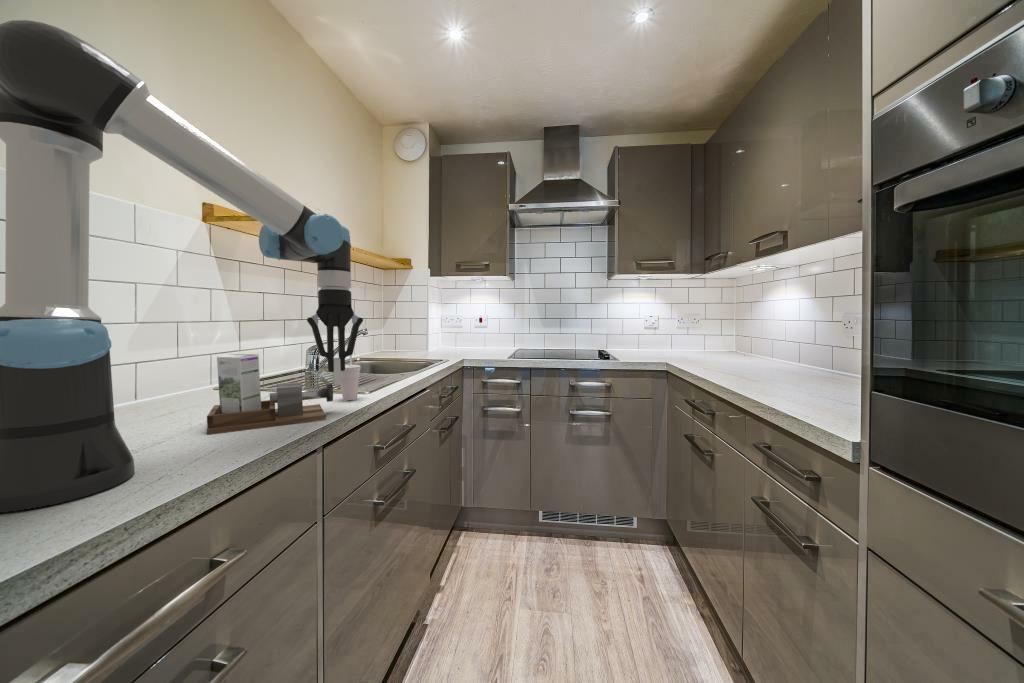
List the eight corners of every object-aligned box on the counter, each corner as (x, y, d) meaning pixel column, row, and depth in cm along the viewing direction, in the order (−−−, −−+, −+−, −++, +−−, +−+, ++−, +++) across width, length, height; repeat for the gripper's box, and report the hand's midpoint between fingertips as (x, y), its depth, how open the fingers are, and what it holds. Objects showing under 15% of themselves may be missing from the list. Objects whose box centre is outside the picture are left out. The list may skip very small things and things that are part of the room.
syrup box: (263, 415, 92) (260, 353, 91) (242, 422, 86) (238, 355, 85) (241, 415, 92) (238, 353, 92) (218, 421, 87) (215, 355, 86)
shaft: (333, 402, 97) (332, 384, 97) (270, 409, 90) (269, 390, 90) (331, 399, 101) (330, 382, 100) (270, 405, 94) (269, 387, 94)
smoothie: (357, 401, 111) (355, 352, 110) (334, 402, 111) (332, 352, 110) (365, 397, 117) (363, 350, 117) (343, 397, 117) (341, 350, 117)
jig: (325, 419, 92) (324, 386, 91) (207, 434, 81) (205, 397, 80) (319, 407, 104) (318, 378, 103) (215, 419, 92) (213, 386, 92)
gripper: (359, 291, 104) (361, 380, 106) (304, 289, 98) (306, 384, 99) (365, 289, 98) (367, 384, 99) (306, 287, 91) (308, 388, 93)
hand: (336, 384), depth 99 cm, fingers closed
